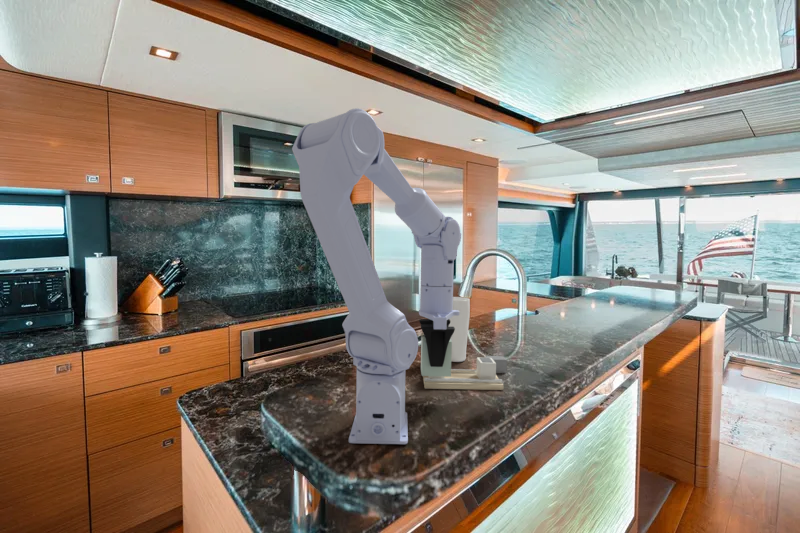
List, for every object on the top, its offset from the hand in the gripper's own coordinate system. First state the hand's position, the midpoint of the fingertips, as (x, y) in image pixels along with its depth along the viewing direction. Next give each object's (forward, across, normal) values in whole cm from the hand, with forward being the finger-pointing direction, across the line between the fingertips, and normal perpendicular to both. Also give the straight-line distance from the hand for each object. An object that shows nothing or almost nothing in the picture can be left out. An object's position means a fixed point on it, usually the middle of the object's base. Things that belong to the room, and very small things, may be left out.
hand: (435, 362), depth 66 cm
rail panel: (+6, +9, -6) cm, 13 cm away
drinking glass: (+7, +25, -7) cm, 27 cm away
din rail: (+6, +9, -6) cm, 13 cm away
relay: (+7, +17, -15) cm, 24 cm away
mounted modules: (+5, +9, -6) cm, 12 cm away
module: (+2, 0, 0) cm, 2 cm away
